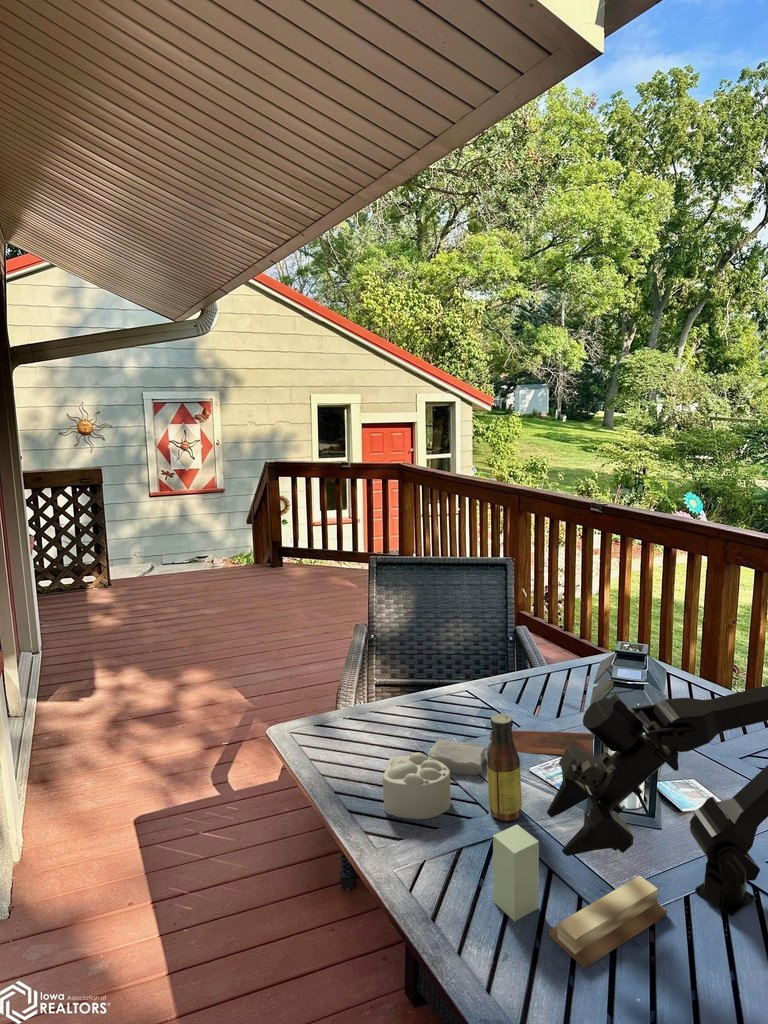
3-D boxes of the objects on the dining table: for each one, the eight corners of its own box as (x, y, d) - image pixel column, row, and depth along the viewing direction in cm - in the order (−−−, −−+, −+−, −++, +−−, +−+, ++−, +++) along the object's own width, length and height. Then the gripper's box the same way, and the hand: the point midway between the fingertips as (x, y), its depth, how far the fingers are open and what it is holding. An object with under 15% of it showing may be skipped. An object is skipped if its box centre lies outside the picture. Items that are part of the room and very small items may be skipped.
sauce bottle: (526, 809, 135) (527, 715, 131) (513, 827, 130) (513, 730, 126) (495, 799, 138) (495, 707, 134) (481, 815, 133) (480, 721, 129)
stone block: (435, 755, 158) (425, 771, 149) (436, 735, 158) (426, 749, 149) (487, 764, 155) (480, 781, 145) (488, 743, 155) (481, 758, 145)
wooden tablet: (488, 746, 156) (490, 720, 165) (488, 754, 157) (491, 728, 166) (611, 757, 150) (607, 729, 160) (610, 765, 151) (606, 737, 160)
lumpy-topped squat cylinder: (390, 785, 144) (388, 747, 143) (452, 789, 142) (452, 751, 140) (381, 816, 134) (379, 776, 133) (448, 821, 132) (447, 780, 130)
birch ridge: (629, 887, 114) (630, 869, 113) (666, 915, 108) (667, 895, 107) (549, 935, 105) (549, 915, 104) (584, 968, 99) (584, 947, 98)
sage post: (516, 888, 114) (517, 824, 112) (538, 908, 110) (538, 841, 108) (493, 901, 112) (493, 835, 109) (514, 921, 108) (514, 853, 105)
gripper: (575, 705, 114) (508, 768, 116) (614, 769, 96) (534, 842, 98) (621, 747, 116) (554, 808, 118) (667, 817, 98) (587, 888, 100)
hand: (556, 833), depth 109 cm, fingers open, 9 cm apart
